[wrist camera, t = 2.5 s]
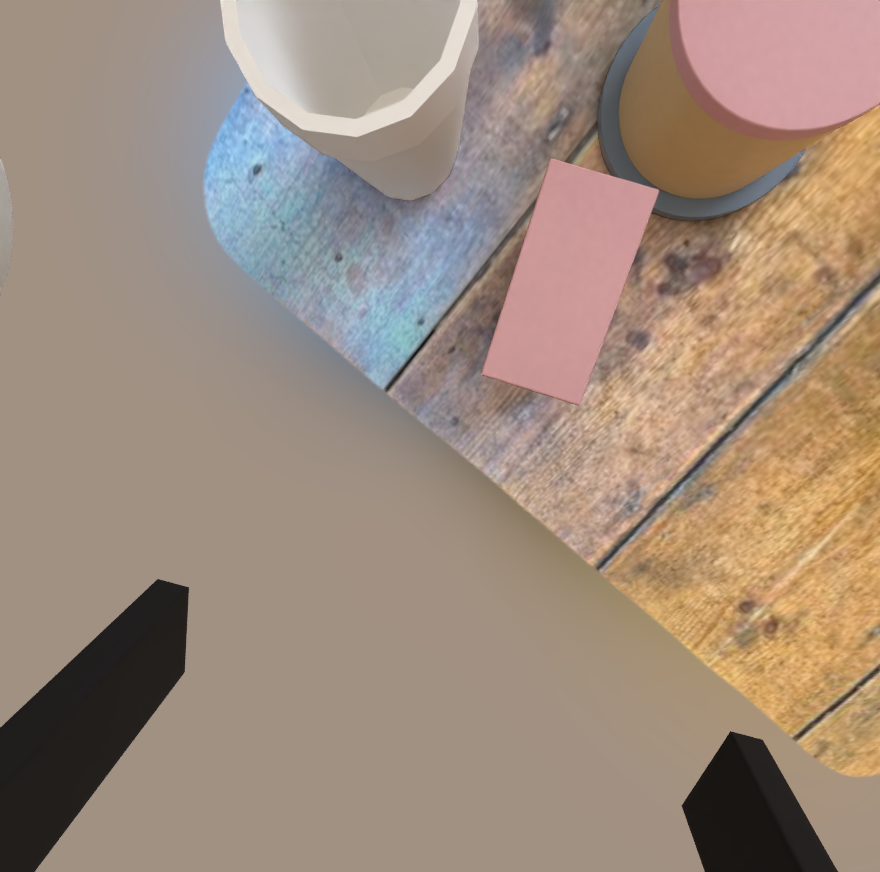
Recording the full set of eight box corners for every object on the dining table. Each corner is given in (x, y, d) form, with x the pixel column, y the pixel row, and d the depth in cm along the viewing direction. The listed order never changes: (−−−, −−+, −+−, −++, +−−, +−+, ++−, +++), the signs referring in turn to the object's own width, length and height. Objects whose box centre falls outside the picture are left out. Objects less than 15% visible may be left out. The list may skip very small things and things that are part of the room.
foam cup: (402, 258, 31) (340, 192, 18) (304, 146, 30) (168, -4, 17) (514, 145, 29) (534, -17, 16) (412, 24, 28) (349, -245, 15)
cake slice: (548, 386, 31) (579, 405, 20) (483, 366, 31) (480, 374, 21) (597, 248, 29) (660, 189, 19) (527, 227, 30) (550, 157, 19)
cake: (559, 165, 29) (595, 72, 19) (668, -47, 26) (772, -276, 17) (735, 256, 29) (859, 208, 19) (860, 52, 26) (1076, -122, 17)
